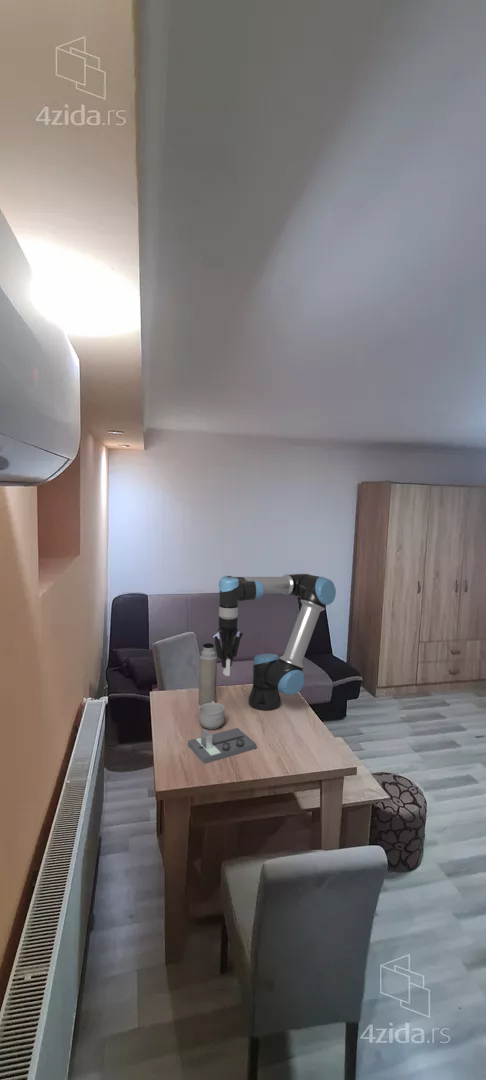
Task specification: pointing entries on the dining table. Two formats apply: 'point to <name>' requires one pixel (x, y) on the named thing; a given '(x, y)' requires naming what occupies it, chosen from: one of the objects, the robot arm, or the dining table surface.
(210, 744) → the fader cap
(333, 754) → the dining table surface
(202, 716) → the teacup
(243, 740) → the console
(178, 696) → the dining table surface
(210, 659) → the thermos bottle
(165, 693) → the dining table surface
